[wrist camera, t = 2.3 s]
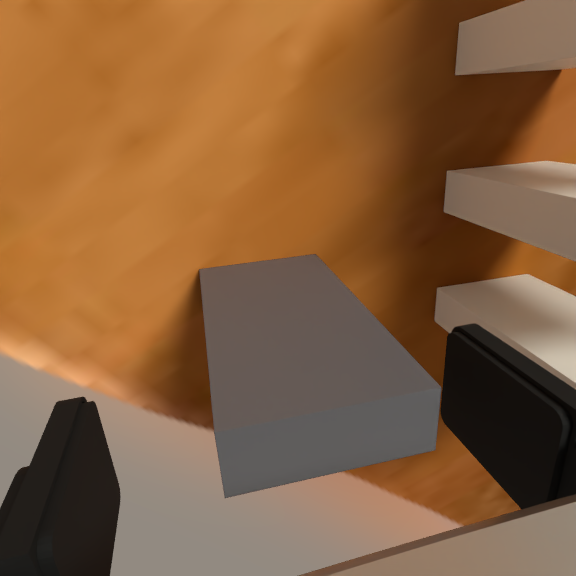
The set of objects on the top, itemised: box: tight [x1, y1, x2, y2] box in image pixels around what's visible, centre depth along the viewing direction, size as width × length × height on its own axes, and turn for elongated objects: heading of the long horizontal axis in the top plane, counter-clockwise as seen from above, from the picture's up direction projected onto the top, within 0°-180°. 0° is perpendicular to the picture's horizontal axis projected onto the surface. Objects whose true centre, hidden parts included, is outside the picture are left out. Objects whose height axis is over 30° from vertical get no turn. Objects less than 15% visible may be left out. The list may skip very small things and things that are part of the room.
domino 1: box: [199, 254, 441, 498], centre depth 14 cm, size 2×5×10 cm, turn 93°
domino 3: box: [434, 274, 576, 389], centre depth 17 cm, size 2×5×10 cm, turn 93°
